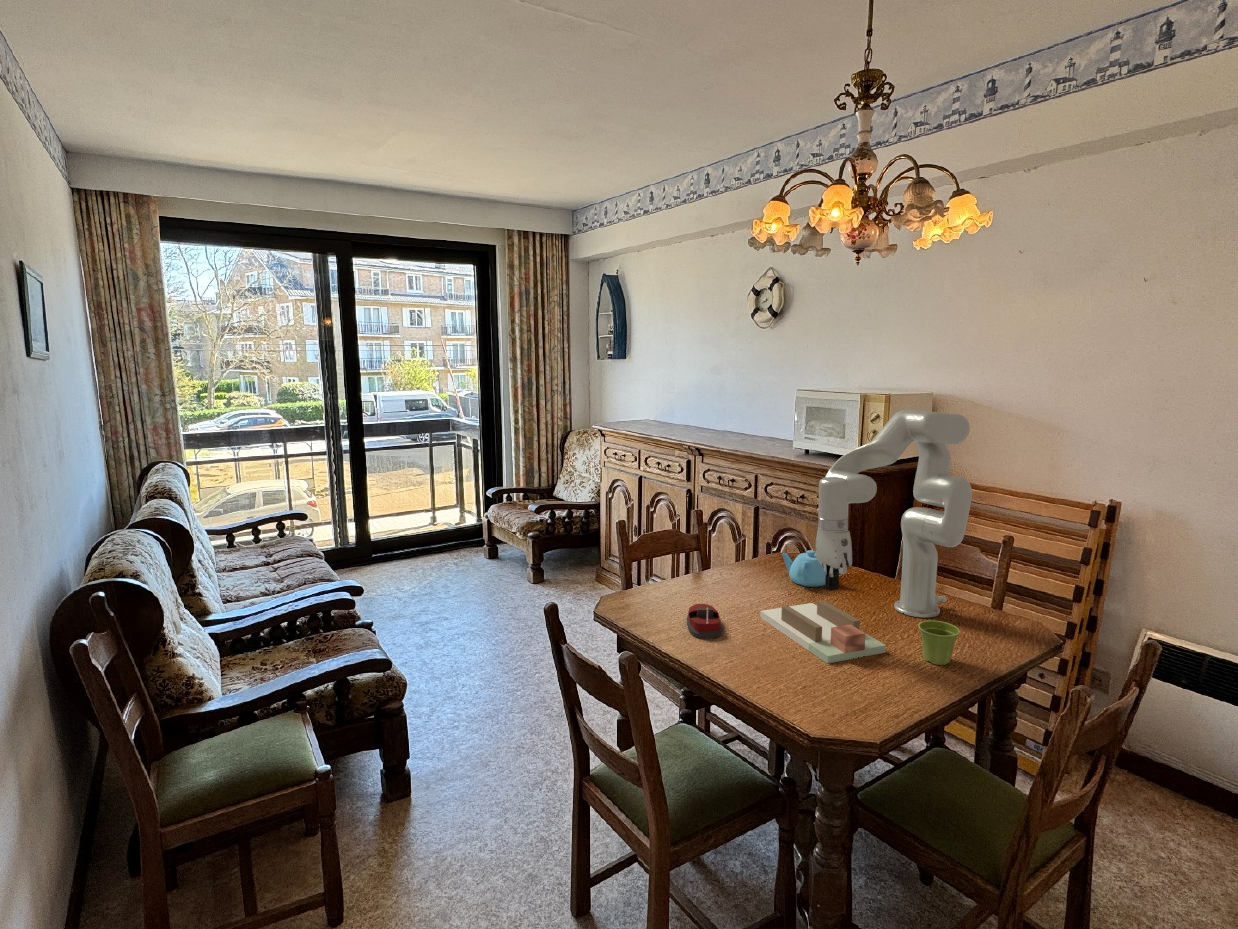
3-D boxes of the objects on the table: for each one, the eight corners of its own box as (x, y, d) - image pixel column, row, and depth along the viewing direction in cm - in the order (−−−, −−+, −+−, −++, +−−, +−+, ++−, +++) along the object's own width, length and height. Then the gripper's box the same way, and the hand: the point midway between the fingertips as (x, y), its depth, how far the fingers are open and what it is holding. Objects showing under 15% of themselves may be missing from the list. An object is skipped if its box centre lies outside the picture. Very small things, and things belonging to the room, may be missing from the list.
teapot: (779, 575, 233) (780, 546, 231) (818, 572, 236) (820, 543, 234) (799, 590, 218) (800, 559, 216) (840, 586, 221) (842, 556, 219)
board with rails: (811, 609, 202) (812, 590, 201) (885, 652, 172) (886, 630, 171) (760, 617, 196) (760, 598, 195) (827, 663, 166) (828, 641, 165)
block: (849, 640, 174) (850, 624, 174) (864, 650, 169) (865, 633, 168) (830, 643, 173) (831, 627, 172) (844, 653, 167) (845, 636, 166)
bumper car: (716, 615, 199) (716, 583, 197) (727, 643, 179) (728, 608, 177) (683, 615, 199) (683, 583, 197) (691, 644, 179) (691, 608, 177)
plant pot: (962, 670, 162) (964, 636, 160) (921, 667, 164) (923, 634, 162) (951, 653, 171) (953, 621, 169) (912, 650, 173) (914, 619, 171)
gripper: (863, 528, 169) (862, 596, 172) (827, 515, 183) (826, 578, 186) (839, 532, 167) (838, 601, 170) (804, 518, 181) (803, 582, 184)
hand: (831, 589), depth 178 cm, fingers closed
